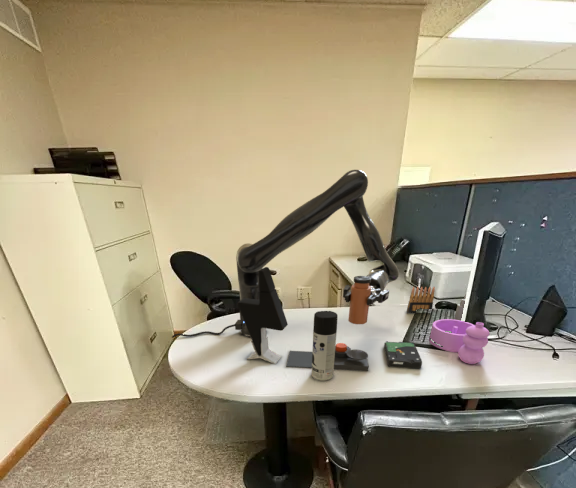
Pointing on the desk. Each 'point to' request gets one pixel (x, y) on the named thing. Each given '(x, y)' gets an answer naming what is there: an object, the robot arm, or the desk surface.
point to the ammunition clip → (420, 299)
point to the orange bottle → (359, 300)
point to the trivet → (299, 359)
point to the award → (263, 316)
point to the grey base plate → (349, 362)
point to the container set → (460, 338)
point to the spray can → (324, 345)
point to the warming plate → (357, 354)
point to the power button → (341, 347)
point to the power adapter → (459, 310)
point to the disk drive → (402, 355)
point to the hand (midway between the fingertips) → (357, 300)
